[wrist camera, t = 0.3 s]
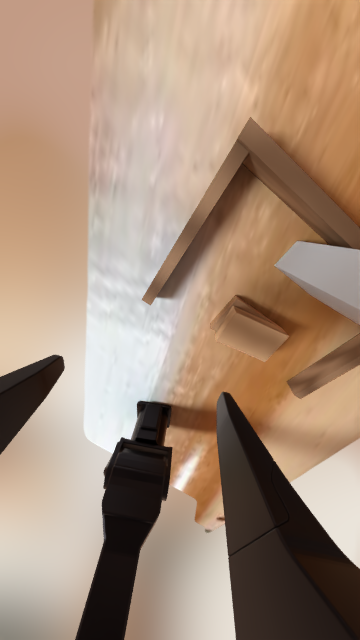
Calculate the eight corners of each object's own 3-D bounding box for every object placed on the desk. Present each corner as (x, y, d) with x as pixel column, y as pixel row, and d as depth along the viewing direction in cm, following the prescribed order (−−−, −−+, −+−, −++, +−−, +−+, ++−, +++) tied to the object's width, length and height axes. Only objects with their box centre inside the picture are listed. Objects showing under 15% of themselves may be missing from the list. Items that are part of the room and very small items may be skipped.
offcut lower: (252, 349, 25) (256, 357, 24) (209, 321, 24) (210, 328, 22) (280, 325, 23) (286, 333, 22) (234, 293, 22) (237, 298, 20)
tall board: (310, 295, 20) (443, 376, 9) (274, 265, 19) (376, 318, 8) (335, 274, 19) (523, 340, 8) (297, 240, 18) (457, 264, 7)
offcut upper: (260, 352, 23) (265, 362, 22) (214, 333, 23) (216, 341, 21) (282, 328, 21) (289, 336, 20) (233, 305, 20) (235, 312, 19)
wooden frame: (292, 385, 27) (302, 402, 25) (147, 292, 22) (140, 301, 19) (415, 306, 20) (449, 318, 17) (240, 136, 14) (250, 116, 12)
